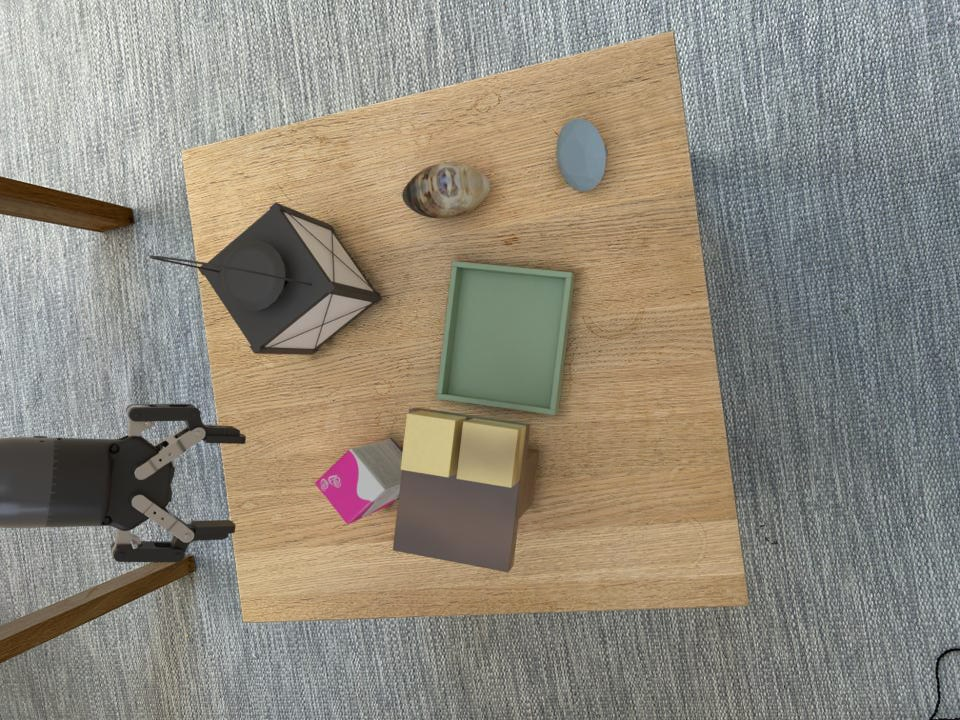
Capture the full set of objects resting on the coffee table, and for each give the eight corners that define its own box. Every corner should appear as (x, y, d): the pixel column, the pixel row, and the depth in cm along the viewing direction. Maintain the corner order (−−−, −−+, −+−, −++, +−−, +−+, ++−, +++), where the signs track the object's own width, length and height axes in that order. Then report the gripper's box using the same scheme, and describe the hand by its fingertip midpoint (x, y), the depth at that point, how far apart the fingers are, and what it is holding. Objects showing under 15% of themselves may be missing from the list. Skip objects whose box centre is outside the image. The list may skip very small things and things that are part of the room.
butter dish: (558, 413, 84) (554, 415, 81) (443, 397, 87) (435, 398, 84) (575, 275, 84) (572, 272, 81) (459, 264, 87) (452, 260, 84)
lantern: (384, 299, 89) (261, 269, 62) (311, 356, 91) (162, 352, 64) (331, 223, 91) (188, 162, 63) (261, 281, 93) (94, 246, 65)
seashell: (492, 165, 86) (475, 145, 78) (499, 215, 86) (482, 201, 78) (412, 181, 88) (388, 163, 80) (418, 230, 88) (395, 217, 80)
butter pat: (460, 471, 63) (448, 477, 60) (414, 463, 64) (400, 469, 61) (466, 417, 63) (455, 420, 59) (420, 410, 64) (406, 413, 60)
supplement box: (390, 435, 89) (351, 446, 78) (423, 475, 88) (388, 491, 77) (355, 468, 90) (312, 483, 79) (388, 507, 89) (348, 528, 78)
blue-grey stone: (620, 101, 80) (584, 107, 77) (641, 172, 80) (607, 180, 77) (574, 128, 86) (540, 134, 83) (595, 194, 87) (561, 202, 84)
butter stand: (549, 516, 84) (499, 584, 59) (462, 501, 87) (377, 561, 61) (562, 408, 84) (518, 429, 58) (474, 396, 86) (394, 411, 61)
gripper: (37, 580, 62) (240, 568, 70) (55, 404, 61) (258, 414, 70) (34, 551, 68) (221, 544, 77) (51, 392, 68) (237, 403, 76)
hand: (238, 482), depth 73 cm, fingers open, 8 cm apart
